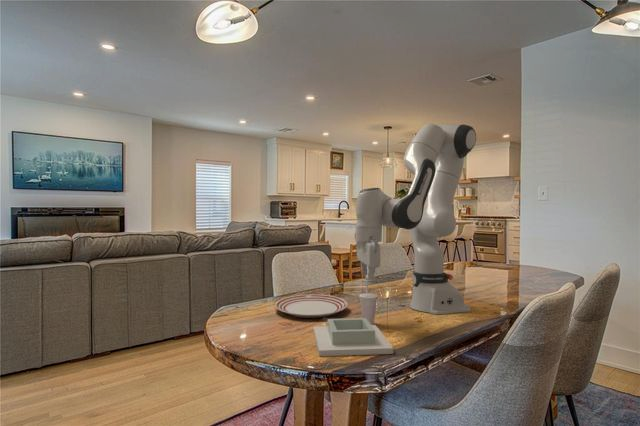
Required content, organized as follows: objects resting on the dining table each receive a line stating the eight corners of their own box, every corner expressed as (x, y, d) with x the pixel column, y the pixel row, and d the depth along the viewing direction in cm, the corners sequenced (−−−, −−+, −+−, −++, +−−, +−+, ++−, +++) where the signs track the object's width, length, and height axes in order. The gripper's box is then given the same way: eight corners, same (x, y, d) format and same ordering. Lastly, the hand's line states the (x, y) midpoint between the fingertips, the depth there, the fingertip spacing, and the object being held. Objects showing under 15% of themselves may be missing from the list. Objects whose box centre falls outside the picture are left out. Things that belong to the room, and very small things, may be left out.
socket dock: (375, 329, 120) (375, 314, 120) (393, 353, 100) (393, 335, 100) (313, 331, 119) (313, 315, 118) (319, 356, 99) (319, 337, 99)
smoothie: (357, 321, 129) (357, 280, 129) (375, 320, 130) (375, 280, 130) (360, 327, 123) (360, 284, 123) (379, 326, 123) (380, 284, 123)
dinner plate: (341, 324, 126) (341, 314, 126) (264, 319, 132) (264, 310, 132) (351, 304, 153) (351, 296, 153) (287, 300, 159) (287, 292, 159)
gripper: (386, 238, 116) (384, 283, 116) (370, 234, 136) (369, 272, 136) (366, 238, 115) (364, 283, 115) (353, 233, 135) (352, 272, 136)
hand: (367, 277), depth 126 cm, fingers open, 8 cm apart
